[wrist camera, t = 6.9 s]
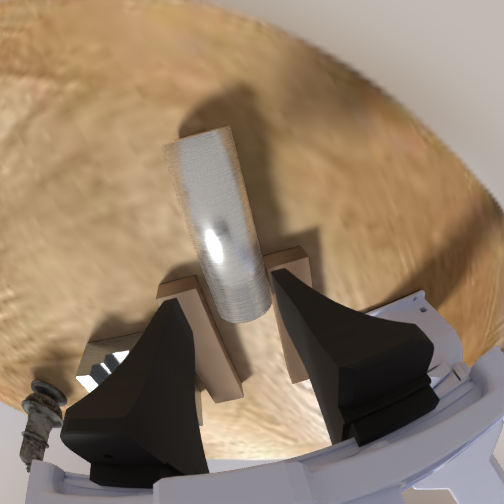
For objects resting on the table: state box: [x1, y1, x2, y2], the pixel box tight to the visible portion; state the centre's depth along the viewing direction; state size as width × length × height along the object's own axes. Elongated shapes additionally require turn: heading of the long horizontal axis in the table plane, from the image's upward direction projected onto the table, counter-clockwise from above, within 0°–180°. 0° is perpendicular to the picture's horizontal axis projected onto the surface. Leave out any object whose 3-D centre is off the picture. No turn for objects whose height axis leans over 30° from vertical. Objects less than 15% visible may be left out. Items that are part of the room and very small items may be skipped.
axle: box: [162, 126, 272, 323], centre depth 18 cm, size 12×4×4 cm, turn 12°
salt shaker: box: [20, 380, 67, 472], centre depth 19 cm, size 6×6×12 cm
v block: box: [76, 332, 203, 426], centre depth 23 cm, size 8×10×4 cm
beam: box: [156, 246, 312, 404], centre depth 23 cm, size 11×14×2 cm
